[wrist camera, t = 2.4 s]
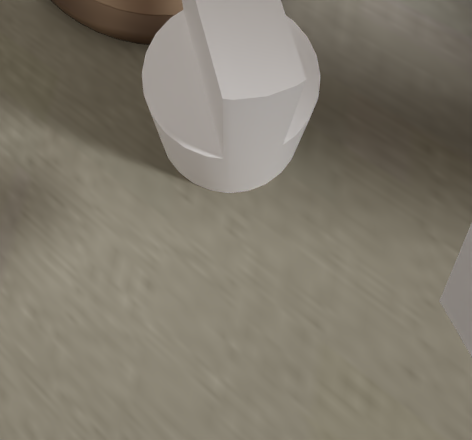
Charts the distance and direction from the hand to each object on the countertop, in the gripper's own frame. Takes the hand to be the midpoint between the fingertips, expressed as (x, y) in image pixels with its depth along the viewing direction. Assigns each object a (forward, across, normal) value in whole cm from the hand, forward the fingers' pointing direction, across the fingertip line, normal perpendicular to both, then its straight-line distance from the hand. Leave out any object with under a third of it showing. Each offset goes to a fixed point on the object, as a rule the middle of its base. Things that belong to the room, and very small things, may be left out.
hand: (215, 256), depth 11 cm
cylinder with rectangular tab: (+17, 0, -3) cm, 18 cm away
